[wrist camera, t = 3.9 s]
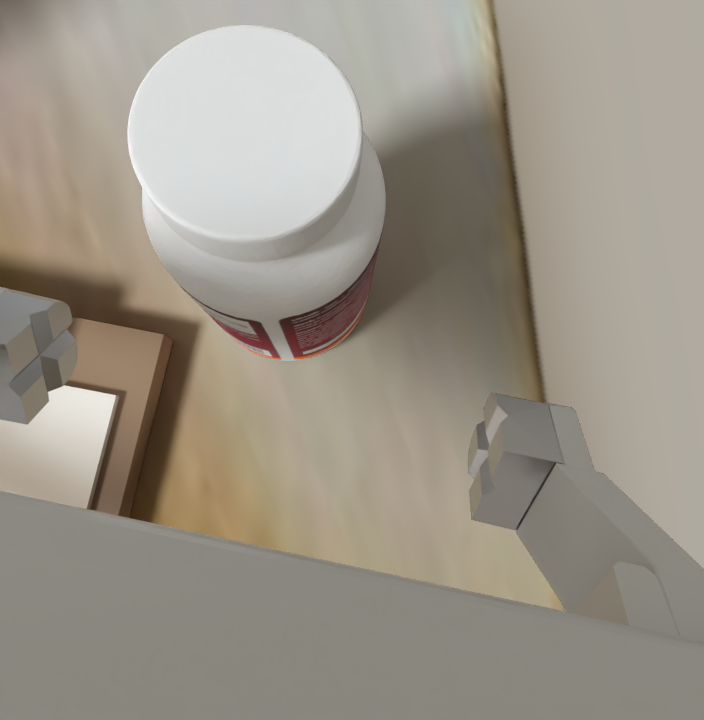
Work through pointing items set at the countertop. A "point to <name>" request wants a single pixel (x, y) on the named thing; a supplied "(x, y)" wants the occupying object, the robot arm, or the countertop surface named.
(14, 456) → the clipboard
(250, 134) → the pill bottle
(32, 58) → the countertop surface
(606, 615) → the robot arm
